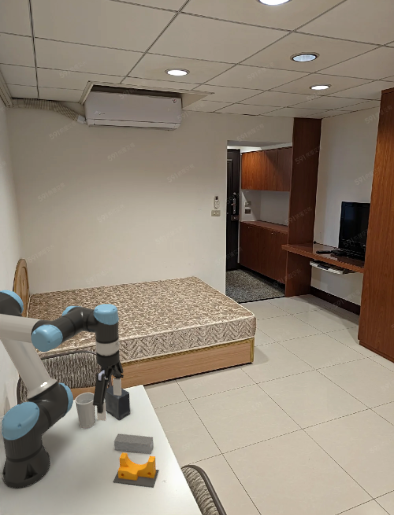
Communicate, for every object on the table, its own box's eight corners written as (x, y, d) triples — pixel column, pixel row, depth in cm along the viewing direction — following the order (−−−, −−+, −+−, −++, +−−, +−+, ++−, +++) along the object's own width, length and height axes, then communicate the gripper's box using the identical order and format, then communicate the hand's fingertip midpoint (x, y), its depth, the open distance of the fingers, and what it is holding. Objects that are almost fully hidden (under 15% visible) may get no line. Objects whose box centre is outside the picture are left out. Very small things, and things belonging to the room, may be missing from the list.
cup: (101, 421, 148) (99, 396, 146) (86, 432, 142) (84, 406, 139) (88, 415, 153) (86, 390, 150) (73, 425, 146) (70, 400, 143)
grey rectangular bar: (114, 450, 133) (114, 440, 132) (118, 442, 136) (118, 433, 136) (150, 454, 131) (150, 444, 130) (153, 446, 134) (153, 437, 134)
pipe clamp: (118, 478, 120) (117, 462, 118) (123, 468, 124) (122, 452, 122) (152, 482, 118) (151, 466, 116) (155, 472, 122) (155, 456, 121)
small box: (131, 413, 153) (130, 392, 151) (119, 421, 149) (117, 399, 146) (116, 403, 160) (115, 383, 158) (104, 410, 155) (103, 389, 153)
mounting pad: (113, 482, 118) (113, 481, 118) (120, 466, 125) (120, 465, 125) (153, 487, 116) (153, 486, 116) (158, 470, 123) (158, 469, 123)
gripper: (102, 371, 104) (105, 433, 109) (131, 335, 128) (132, 386, 133) (79, 369, 105) (82, 430, 110) (111, 333, 129) (113, 384, 134)
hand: (110, 406), depth 121 cm, fingers open, 13 cm apart
